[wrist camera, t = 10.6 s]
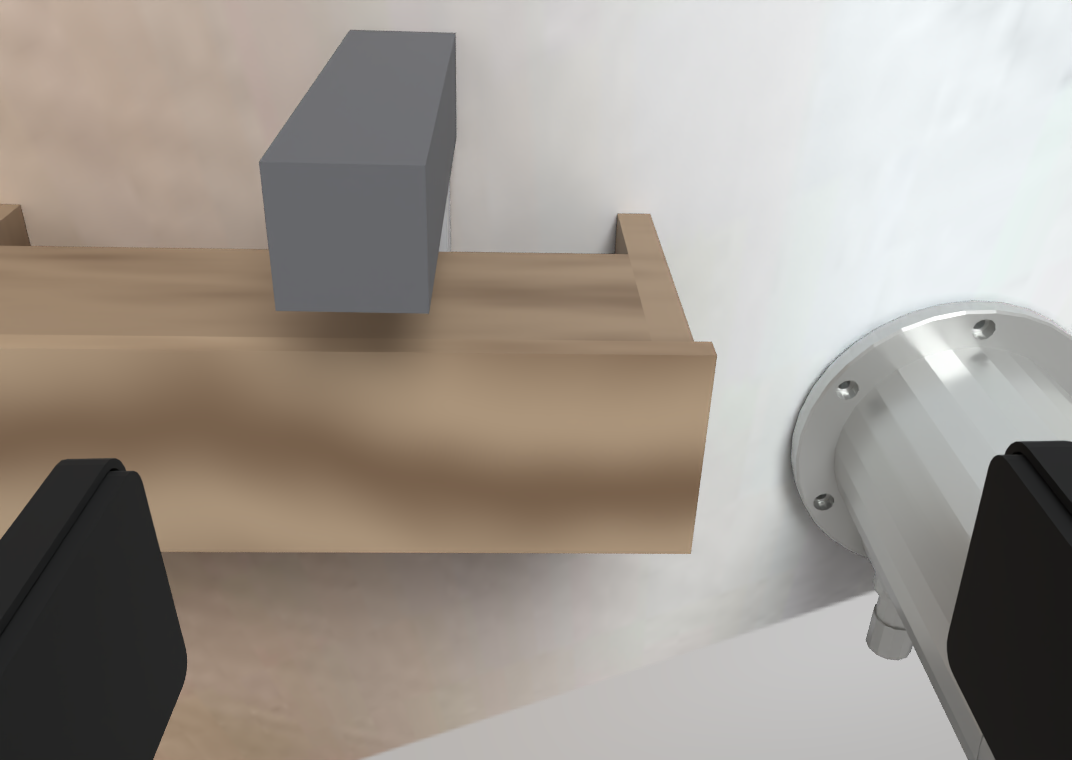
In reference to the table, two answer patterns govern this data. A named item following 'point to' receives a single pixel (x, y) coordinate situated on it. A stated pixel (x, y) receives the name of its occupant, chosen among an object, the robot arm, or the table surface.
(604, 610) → the table surface
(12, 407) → the wooden bench
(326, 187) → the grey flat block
